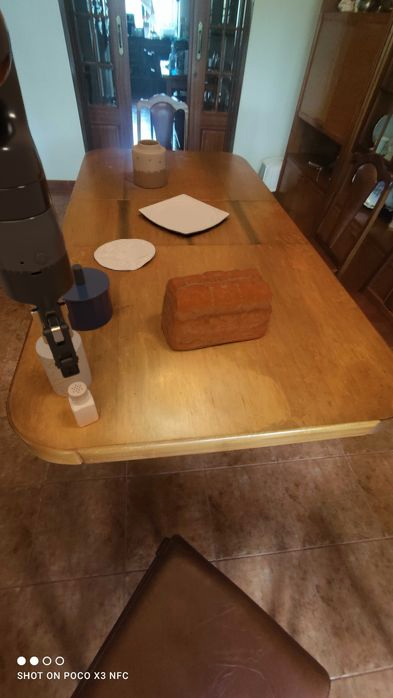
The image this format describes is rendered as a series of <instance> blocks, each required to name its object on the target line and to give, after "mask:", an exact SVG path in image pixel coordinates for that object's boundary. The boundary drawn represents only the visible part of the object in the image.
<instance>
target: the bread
mask: <svg viewBox="0 0 393 698" xmlns="http://www.w3.org/2000/svg"><path fill="white" fill-rule="evenodd" d="M273 295H274V294H273V292H272V290H271V287H270V285H269V283H268V282H267V281H265V280H264V279H263V276H262V275H261V273H260V272H259V271H258V270H257V268H248V269H231V270H226V271H225V270H209V271H205V272H203V273H196V274H191V275H185V276H176V277H171V278H170V279H168V281H167V283H166V284H165V291H164V295H163V299H162V306H161V318H160V319H161V320H160V325H161V328H162V331H163V334H164V337H165V341H166V343H167V345H168V346H169V348H171V349H172V350H173V351H191V350H197V349H201V348H202V349H203V348H206V347H212V346H215V345H216V346H217V345H221V344H226V343H232V342H242V341H249V340H255V339H259V338H262V337H264V336H266V333H267V332H268V329H269V324H270V320H271V319H270V318H271V316H272V313H273V307H272V302H273V297H274V296H273Z"/></svg>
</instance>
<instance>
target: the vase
mask: <svg viewBox="0 0 393 698" xmlns="http://www.w3.org/2000/svg"><path fill="white" fill-rule="evenodd" d="M131 157H132V172H133V183H134V185H135V186H137V187H139V188H141V189H142V188H143V189H151V190H153V189H155V190H156V189H160V188H163V187H165V186H166V184H167V149H166V147H165V146H163V145H162V144H161V142H160V141H159V140H156V139H150V138H147V139H139V140H138V141H137V144H134V145H133V146H132V147H131Z"/></svg>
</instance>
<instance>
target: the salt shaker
mask: <svg viewBox="0 0 393 698" xmlns="http://www.w3.org/2000/svg"><path fill="white" fill-rule="evenodd" d="M68 394H69V397H67V398H68V402H69V406H70V408H71V411H72V413H73V415H74V416H73V417H74V418H75V421H76V424H77V426H78V427H79V428H83V427H87V425H88V426H89V425H90V424H93V423H95V422H97V421H99V419H100V418H99V413H98V409H97V406H96V402H95V401H94V398H93V395H92V393H91V391H90V389H87V387H86V385H85V384H84V383H82V382H75V383H73V384H71V385H70V386H69V388H68Z"/></svg>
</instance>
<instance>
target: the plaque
mask: <svg viewBox="0 0 393 698" xmlns="http://www.w3.org/2000/svg"><path fill="white" fill-rule="evenodd" d="M155 254H156V247H155V246H154V244H153V243H151V242H150V241H147V240H145V239H140V238H121V239H120V238H119V239H115V240H112V241H108V242H106V243H104V244H102V245H100V246H99V247H98V248H97V249H96V250H95V251H94V252H93V258H94V259H95V261H96V262H97V263H98V264H99V265H100V266H102V267H104V268H107V269H110V270H114V271H136V270H138V269H141V268H142V267H143V266H144V265H145V264H146V263H147V262H149V261H151V259H153V258H154V257H155Z"/></svg>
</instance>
